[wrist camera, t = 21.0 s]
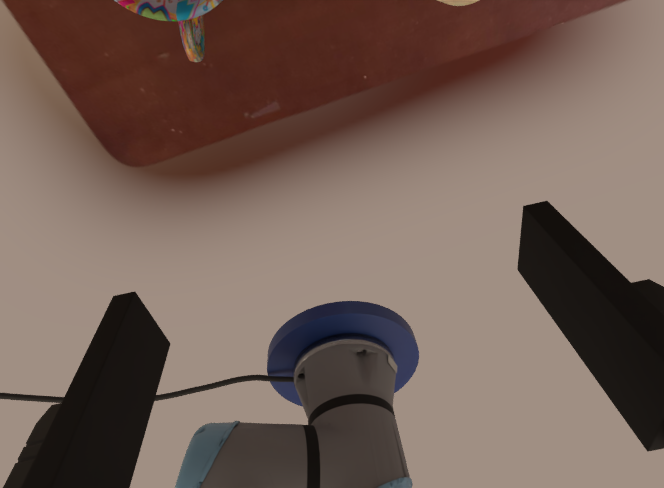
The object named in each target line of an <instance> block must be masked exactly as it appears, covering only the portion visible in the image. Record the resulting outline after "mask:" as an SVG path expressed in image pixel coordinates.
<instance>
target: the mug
mask: <svg viewBox="0 0 664 488" xmlns="http://www.w3.org/2000/svg"><path fill="white" fill-rule="evenodd" d="M114 1H116V2H117V3H118V4H120V5H122V6H123V7H125V8H127V9H129V10H131V11H133V12H135V13H137V14H139V15H142V16H144V17H148V18H151V19H156V20H161V21H178V23H179V29H180V34H181V38H182V42H183V46H184V49H185V51H186V54H187V56H188V58H189V59H190V61H192V62H200V61H202V60H203V58H204V51H205V37H204V22H203V14H205V13H207V12H209V11H210V10H212V9H213V8H215V7H216V6H217V5H218V4H219V3H221V2H222V1H223V0H114ZM191 19H192V21H193V31H192V26H191Z"/></svg>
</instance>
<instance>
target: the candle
mask: <svg viewBox="0 0 664 488" xmlns="http://www.w3.org/2000/svg"><path fill="white" fill-rule="evenodd" d="M437 1H440V2H443V3H446V4H449V5H453V6H464V5H469V4H472V3H474V2H477V1H479V0H437Z"/></svg>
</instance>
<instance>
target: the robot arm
mask: <svg viewBox="0 0 664 488" xmlns="http://www.w3.org/2000/svg"><path fill="white" fill-rule="evenodd" d="M518 271H519V272H520V274H521V275H522V276H523V278H524V279H525V281H526V282H527V284H528V285H529V286H530V288H531V289H532V291H533V292H534V293H535V295H536V296H537V297H538V299H539V300H540V302H541V303H542V304H543V306H544V307H545V309H546V310H547V312H548V313H549V314H550V315H551V317H552V319H553V320H554V321H555V323H556V324H557V325H558V327H559V328H560V330H561V331H562V332H563V334H564V335H565V337H566V338H567V339H568V341H569V342H570V344H571V345H572V346H573V348H574V349H575V351H576V352H577V353H578V355H579V356H580V358H581V359H582V360H583V362H584V363H585V365H586V366H587V367H588V369H589V370H590V372H591V373H592V374H593V376H594V377H595V379H596V380H597V381H598V383H599V384H600V386H601V387H602V388H603V390H604V391H605V392H606V394H607V395H608V397H609V398H610V400H611V401H612V402H613V404H614V405H615V407H616V408H617V409H618V411H619V412H620V414H621V415H622V416H623V418H624V419H625V420H626V422H627V423H628V425H629V426H630V428H631V429H632V430H633V432H634V433H635V434H636V436H637V437H638V439H639V440H640V441H641V443H642V444H643V445H644V447H645V448H646V450H647V451H652V450H657V449H662V448H664V287H663V286H661V285H659V284H657V283H655V282H653V281H651V280H649V279H648V280H643V281H638V282H634V283H631V282H629V281H628V280H627V279H626V278H625V277H624V276H623V275H622V274H621V273H620V272H619V271H618V270H617V269H616V268H615V267H614V266H613V265H612V264H611V263H610V262H609V261H608V260H607V259H606V258H605V257H604V256H603V255H602V254H601V253H600V252H599V251H598V250H597V249H596V248H595V247H594V246H593V245H592V244H591V243H590V242H589V241H588V240H587V239H586V238H584V237H583V236H582V235H581V234H580V233H579V232H578V231H577V230H576V229H575V228H574V227H573V226H572V225H571V224H570V223H569V222H568V221H567V220H566V219H565V218H564V217H563V216H562V215H561V214H560V213H559V212H558V211H557V210H556V209H555V208H554V207H553V206H552V205H551V204H550V203H549V202H548V201H545V202H540V203H535V204H531V205H526V206H523V217H522V227H521V238H520V248H519V259H518ZM169 346H170V342H169V341H168V339H167V338H166V337H165V335H164V334H163V332H162V331H161V329H160V328H159V327H158V325H157V323H156V322H155V320H154V319H153V317H152V316H151V314H150V313H149V311H148V310H147V309H146V307H145V305H144V304H143V303H142V301H141V300H140V298H139V297H138V295H137V294H136V292H131V293H126V294H121V295H117V296H113V298H112V300H111V302H110V304H109V306H108V308H107V311H106V312H105V315H104V317H103V319H102V321H101V323H100V325H99V327H98V329H97V331H96V333H95V335H94V337H93V339H92V341H91V344H90V346H89V348H88V350H87V352H86V354H85V356H84V358H83V360H82V362H81V364H80V366H79V368H78V370H77V372H76V374H75V376H74V378H73V381H72V383H71V385H70V387H69V389H68V391H67V393H66V395H65V397H51V396H36V395H22V394H9V393H0V399H11V400H24V401H41V402H56V403H60V404H55V405H52V406H51V407H50V408H49V409H48V410H47V411H46V413H45V414H44V415H43V416H42V417H41V419H40V420H39V421H38V422H37V423H36V425H35V427H34V429H33V431H32V433H31V435H30V436H29V438H28V440H27V442H26V444H27V445H26V447H24V448H23V450H22V452H21V454H20V456H19V458H18V463H16V464H15V465H14V467H13V469H12V471H11V473H10V475H9V477H8V479H7V481H6V483H5V485H4V487H3V488H129V487H130V484H131V480H132V476H133V473H134V470H135V466H136V462H137V459H138V456H139V452H140V448H141V445H142V441H143V438H144V434H145V431H146V427H147V424H148V420H149V417H150V413H151V410H152V406H153V403H154V401H157V400H163V399H169V398H174V397H178V396H182V395H187V394H191V393H195V392H200V391H205V390H209V389H213V388H217V387H221V386H225V385H229V384H233V383H237V382H244V381H252V380H261V381H272V382H294V386H295V388H296V390H297V393H298V395H299V398H300V400H301V403H302V405H303V407H304V410H305V412H306V415H307V417H308V425H295V424H259V423H258V424H257V423H240V422H239V421H235V422H233V423H209V424H206V425H204V426H202V427H200V428H199V429H198V430H197V431H196V433H195V434H194V436H193V438H192V439H191V442H190V444H189V446H188V449H187V451H186V454H185V457H184V460H183V463H182V466H181V469H180V472H179V476H178V479H177V482H176V486H175V488H412V481H411V478H410V477H409V473H408V469H407V465H406V460H405V456H404V452H403V448H402V444H401V440H400V436H399V432H398V428H397V424H396V420H395V415H394V411H393V396H394V388H395V379H396V373H397V365H396V363H395V361H394V357H393V354H392V352H391V350H390V348H389V347H388V346H387V345H386V344H385V343H383V342H382V341H380V340H379V339H377V338H374V337H372V336H368V335H364V334H357V333H345V334H337V335H332V336H328V337H325V338H322V339H320V340H318V341H316V342H314V343H312V344H310V345H309V346H308V347H306V348H305V349H304V350H303V351H302V352H301V353H300V354H299V356H298V357H297V359H296V361H295V363H294V369H293V373H294V377H284V376H266V375H248V376H241V377H236V378H231V379H227V380H223V381H219V382H216V383H212V384H207V385H203V386H199V387H194V388H190V389H185V390H181V391H177V392H172V393H167V394H161V395H156V392H157V389H158V385H159V382H160V378H161V375H162V371H163V368H164V364H165V361H166V357H167V353H168V350H169Z"/></svg>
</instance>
